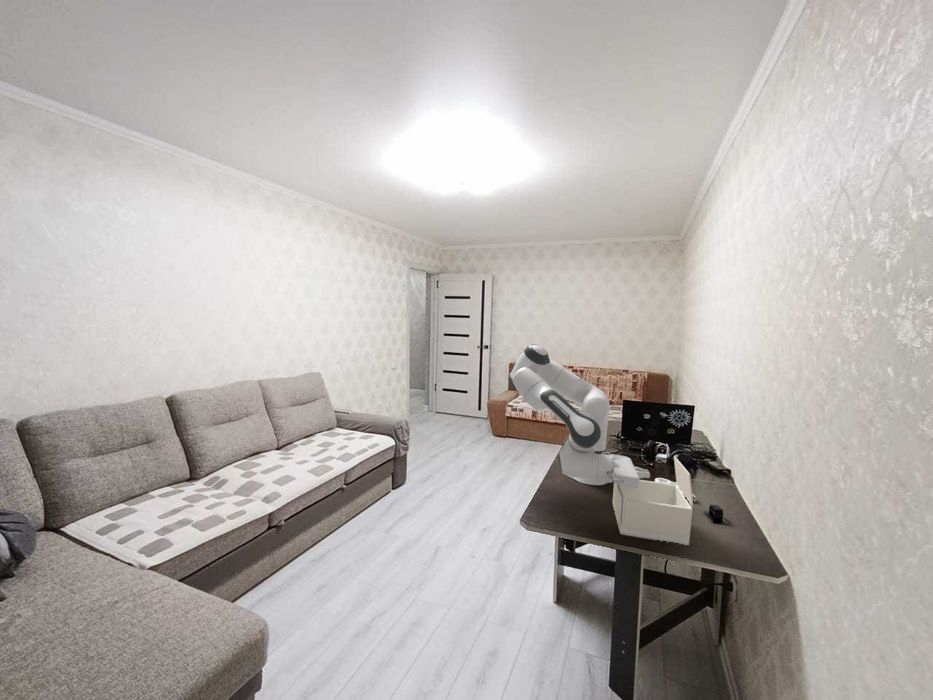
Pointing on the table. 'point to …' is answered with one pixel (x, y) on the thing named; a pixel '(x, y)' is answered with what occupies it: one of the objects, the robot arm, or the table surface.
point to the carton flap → (683, 480)
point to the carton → (653, 512)
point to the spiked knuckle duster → (672, 483)
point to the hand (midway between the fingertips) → (649, 474)
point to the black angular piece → (716, 515)
